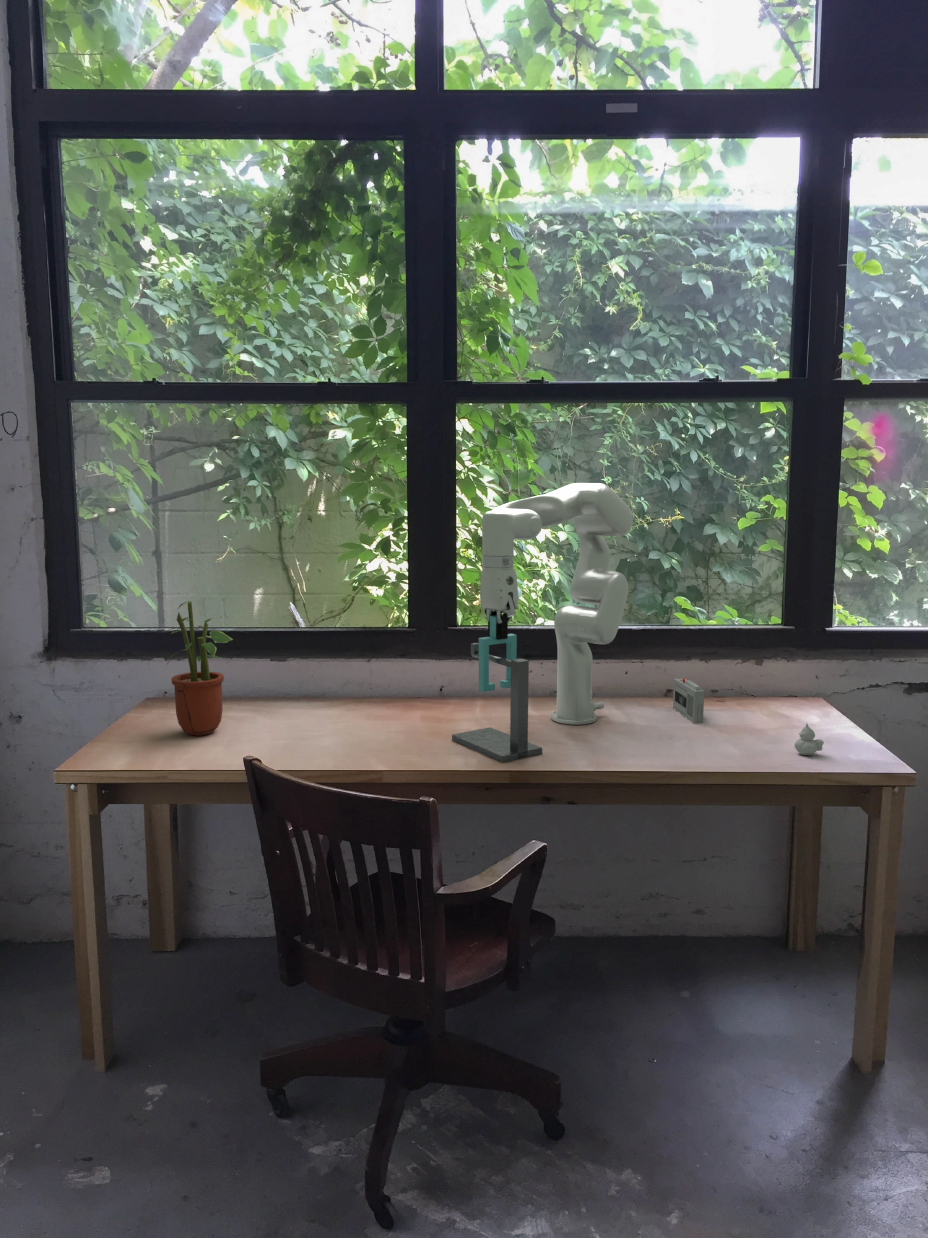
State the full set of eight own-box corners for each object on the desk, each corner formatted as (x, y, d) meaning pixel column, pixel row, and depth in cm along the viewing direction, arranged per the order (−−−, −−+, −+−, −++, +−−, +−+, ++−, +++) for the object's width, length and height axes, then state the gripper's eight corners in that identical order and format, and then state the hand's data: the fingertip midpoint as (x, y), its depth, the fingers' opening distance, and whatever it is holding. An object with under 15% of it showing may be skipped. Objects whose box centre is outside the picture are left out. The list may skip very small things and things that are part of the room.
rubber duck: (792, 750, 221) (794, 719, 220) (820, 752, 220) (822, 720, 219) (796, 757, 216) (798, 725, 215) (825, 758, 215) (827, 726, 214)
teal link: (510, 684, 225) (511, 613, 222) (516, 686, 223) (517, 614, 220) (478, 690, 220) (478, 617, 217) (484, 692, 218) (484, 618, 215)
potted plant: (211, 741, 228) (205, 604, 223) (155, 737, 231) (148, 602, 226) (242, 723, 245) (237, 595, 240) (189, 719, 248) (183, 593, 243)
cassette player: (672, 709, 261) (674, 675, 259) (681, 708, 261) (683, 675, 259) (693, 723, 245) (694, 687, 244) (702, 723, 246) (704, 687, 244)
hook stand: (490, 732, 236) (490, 640, 232) (542, 753, 218) (543, 653, 215) (451, 740, 229) (451, 645, 225) (502, 762, 212) (503, 659, 208)
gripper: (531, 564, 212) (530, 641, 215) (490, 559, 225) (490, 631, 228) (505, 566, 208) (505, 644, 211) (466, 560, 221) (466, 634, 224)
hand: (497, 637), depth 219 cm, fingers closed on teal link, 2 cm apart
